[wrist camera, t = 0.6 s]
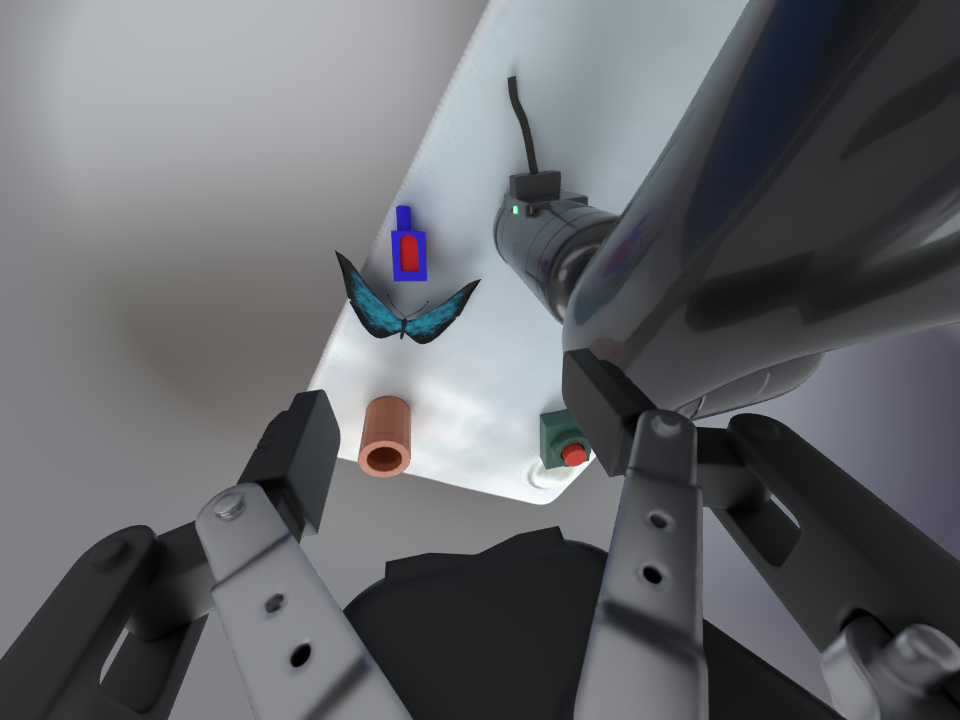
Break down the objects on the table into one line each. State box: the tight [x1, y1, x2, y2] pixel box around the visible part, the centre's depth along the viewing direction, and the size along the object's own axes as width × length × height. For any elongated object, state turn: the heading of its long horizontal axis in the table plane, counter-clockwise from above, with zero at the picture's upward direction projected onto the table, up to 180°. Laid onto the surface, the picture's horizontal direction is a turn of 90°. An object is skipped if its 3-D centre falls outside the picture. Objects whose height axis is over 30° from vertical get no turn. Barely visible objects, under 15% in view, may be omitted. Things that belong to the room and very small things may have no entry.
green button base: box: [540, 410, 591, 469], centre depth 60 cm, size 10×8×5 cm
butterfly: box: [335, 251, 481, 344], centre depth 43 cm, size 17×5×10 cm
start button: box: [562, 443, 586, 466], centre depth 58 cm, size 4×4×2 cm
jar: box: [358, 396, 411, 477], centre depth 50 cm, size 7×7×10 cm
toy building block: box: [391, 206, 427, 281], centre depth 40 cm, size 4×4×8 cm
